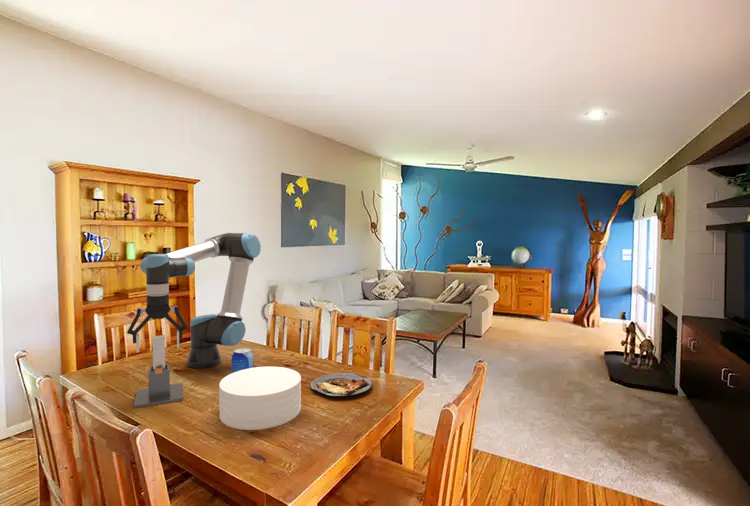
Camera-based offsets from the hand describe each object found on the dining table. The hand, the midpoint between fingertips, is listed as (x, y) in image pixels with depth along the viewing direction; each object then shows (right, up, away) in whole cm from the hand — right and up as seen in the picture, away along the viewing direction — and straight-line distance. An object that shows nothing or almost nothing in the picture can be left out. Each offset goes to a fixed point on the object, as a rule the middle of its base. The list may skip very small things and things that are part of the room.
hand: (158, 349), depth 154 cm
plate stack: (+42, -20, -10) cm, 48 cm away
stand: (0, -18, +1) cm, 18 cm away
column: (0, -17, +1) cm, 17 cm away
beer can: (+29, -18, +9) cm, 36 cm away
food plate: (+70, -19, +12) cm, 73 cm away
